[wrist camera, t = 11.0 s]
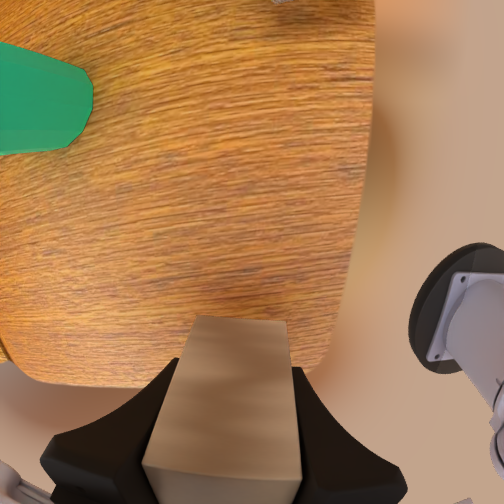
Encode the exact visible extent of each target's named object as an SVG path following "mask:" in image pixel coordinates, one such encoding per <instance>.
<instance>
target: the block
mask: <svg viewBox="0 0 504 504" xmlns="http://www.w3.org/2000/svg"><path fill="white" fill-rule="evenodd" d="M142 466H143V469H144V471H145V473H146V476H147V478H148V480H149V483H150V485H151V487H152V489H153V492H154V494H155V496H156V498H157V500H158V502H159V504H292V503H293V501H294V499H295V496H296V494H297V491H298V489H299V486H300V484H301V481H302V479H303V477H302V465H301V454H300V444H299V433H298V423H297V413H296V404H295V394H294V385H293V376H292V367H291V358H290V350H289V341H288V333H287V325H286V321H277V320H259V319H243V318H229V317H216V316H205V315H196V318H195V320H194V323H193V325H192V328H191V330H190V333H189V336H188V338H187V341H186V343H185V346H184V348H183V351H182V354H181V356H180V359H179V361H178V364H177V367H176V369H175V372H174V375H173V377H172V380H171V383H170V385H169V388H168V391H167V393H166V396H165V399H164V401H163V404H162V407H161V410H160V412H159V415H158V418H157V421H156V423H155V426H154V429H153V432H152V434H151V437H150V440H149V443H148V446H147V448H146V451H145V454H144V457H143V460H142Z"/></svg>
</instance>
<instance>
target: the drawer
mask: <svg viewBox="0 0 504 504" xmlns="http://www.w3.org/2000/svg"><path fill="white" fill-rule="evenodd" d="M289 1H294V0H272V2H273V3H274V4H280V3H284V2H289Z"/></svg>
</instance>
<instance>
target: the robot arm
mask: <svg viewBox="0 0 504 504" xmlns="http://www.w3.org/2000/svg"><path fill="white" fill-rule="evenodd" d="M462 277H463V279H462V280H461V278H462ZM179 359H180V358H174V359H172V360H171V362H170V363H169V364H168V365H167V366H166V367H165V368H164V369H163V370H162V371H161V372H160V373H159V374H158V375H157V376H156V377H155V378H154V379H153V380H152V381H151V382H150V383H149V384H148V385H147V386H146V387H145V388H144V389H142V390H141V391H140V392H139V393H138V394H137V395H135V396H134V397H133V398H132V399H130V400H129V401H128V402H126V403H125V404H124V405H122V406H121V407H119V408H118V409H116V410H115V411H113V412H111V413H110V414H108V415H106V416H104V417H102V418H100V419H98V420H96V421H95V422H92V423H90V424H88V425H85V426H83V427H80V428H77V429H74V430H71V431H68V432H64V433H61V434H57V435H54V437H53V438H52V440H51V441H50V442H49V444H48V446H47V447H46V449H45V451H44V453H43V454H42V456H41V458H40V463H41V466H42V467H43V469H44V470H45V471H46V473H47V474H48V475H49V477H50V478H51V479H52V480H53V481H54V483H55V484H56V487H55V489H54V491H53V493H52V494H50V493H48V492H46V491H44V490H42V489H40V488H38V487H36V486H35V485H32V484H30V483H29V482H27V481H25V480H23V479H22V478H21V477H20V475H19V474H18V473H17V472H16V471H15V470H14V469H13V468H12V467H11V466H9V465H8V464H6V463H4V462H3V461H1V460H0V504H159V502H158V500H157V498H156V496H155V494H154V492H153V489H152V487H151V485H150V483H149V480H148V478H147V476H146V473H145V471H144V469H143V466H142V460H143V457H144V454H145V451H146V448H147V446H148V443H149V440H150V437H151V434H152V432H153V429H154V426H155V423H156V421H157V418H158V415H159V412H160V410H161V407H162V404H163V401H164V399H165V396H166V393H167V391H168V388H169V385H170V383H171V380H172V377H173V375H174V372H175V369H176V367H177V364H178V361H179ZM426 359H427V360H428V361H429V362H432V361H441V360H449V359H455V361H456V362H457V363H458V364H459V366H460V367H461V368H462V370H463V371H464V372H465V374H466V375H467V376H468V378H469V379H470V380H471V382H472V383H473V384H474V386H475V387H476V388H477V390H478V391H479V393H480V394H481V395H482V397H483V398H484V399H485V401H486V402H487V404H488V405H489V406H490V408H491V409H492V411H493V412H494V414H493V417H492V418H491V420H490V422H489V423H490V425H491V426H492V428H493V430H494V431H495V433H494V435H493V437H492V440H491V443H490V455H491V460H492V463H493V465H494V468H495V469H496V471H497V473H498V474H499V476H500V477H501V478H502V479H503V480H504V273H483V272H461V271H457V272H455V273H454V274H453V275H452V277H451V281H450V285H449V289H448V292H447V296H446V299H445V302H444V306H443V309H442V312H441V315H440V318H439V321H438V324H437V327H436V330H435V333H434V336H433V339H432V342H431V344H430V347H429V350H428V352H427V355H426ZM292 376H293V385H294V394H295V404H296V413H297V423H298V433H299V444H300V454H301V465H302V477H303V479H302V481H301V484H300V486H299V489H298V491H297V494H296V496H295V499H294V501H293V503H292V504H398V502H399V501H400V500H401V499H402V498H403V497H404V496H405V494H406V493H407V490H408V487H407V484H406V481H405V479H404V476H403V475H402V473H401V471H400V469H399V467H397V466H396V465H394V464H392V463H390V462H388V461H386V460H385V459H382V458H381V457H379V456H377V455H376V454H374V453H373V452H371V451H370V450H369V449H367V448H366V447H365V446H363V445H362V444H361V443H360V442H358V441H357V440H356V439H355V438H353V437H352V436H351V435H350V434H349V433H348V432H347V431H346V430H345V429H344V428H343V427H342V426H341V425H340V424H339V423H338V422H337V421H336V420H335V418H334V417H333V416H332V415H331V414H330V412H329V411H328V410H327V408H326V407H325V406H324V404H323V403H322V402H321V400H320V399H319V397H318V396H317V394H316V393H315V391H314V390H313V388H312V386H311V385H310V383H309V381H308V380H307V378H306V376H305V374H304V372H303V370H302V368H301V367H292ZM455 504H473V502H472V500H471V498H467V499H465V500H462V501H460V502H457V503H455Z"/></svg>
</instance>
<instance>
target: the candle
mask: <svg viewBox="0 0 504 504" xmlns="http://www.w3.org/2000/svg"><path fill="white" fill-rule="evenodd" d="M92 109H93V85H92V83H91V81H90V79H89V78H88V76H87V74H86V72H85V70H84V69H81V68H79V67H76V66H73V65H71V64H68V63H65V62H62V61H60V60H57V59H54V58H51V57H48V56H45V55H42V54H39V53H36V52H33V51H30V50H27V49H24V48H21V47H17V46H14V45H11V44H7V43H4V42H0V155H8V154H18V153H28V152H41V151H51V150H55V149H60V148H64V147H67V146H68V145H69V144H70V143H71V142H72V141H73V140H74V139H75V138H76V137H77V136H79V135H80V134H81V133H82V132H83V130H84V127H85V125H86V123H87V120H88V118H89V116H90V113H91V111H92Z"/></svg>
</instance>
